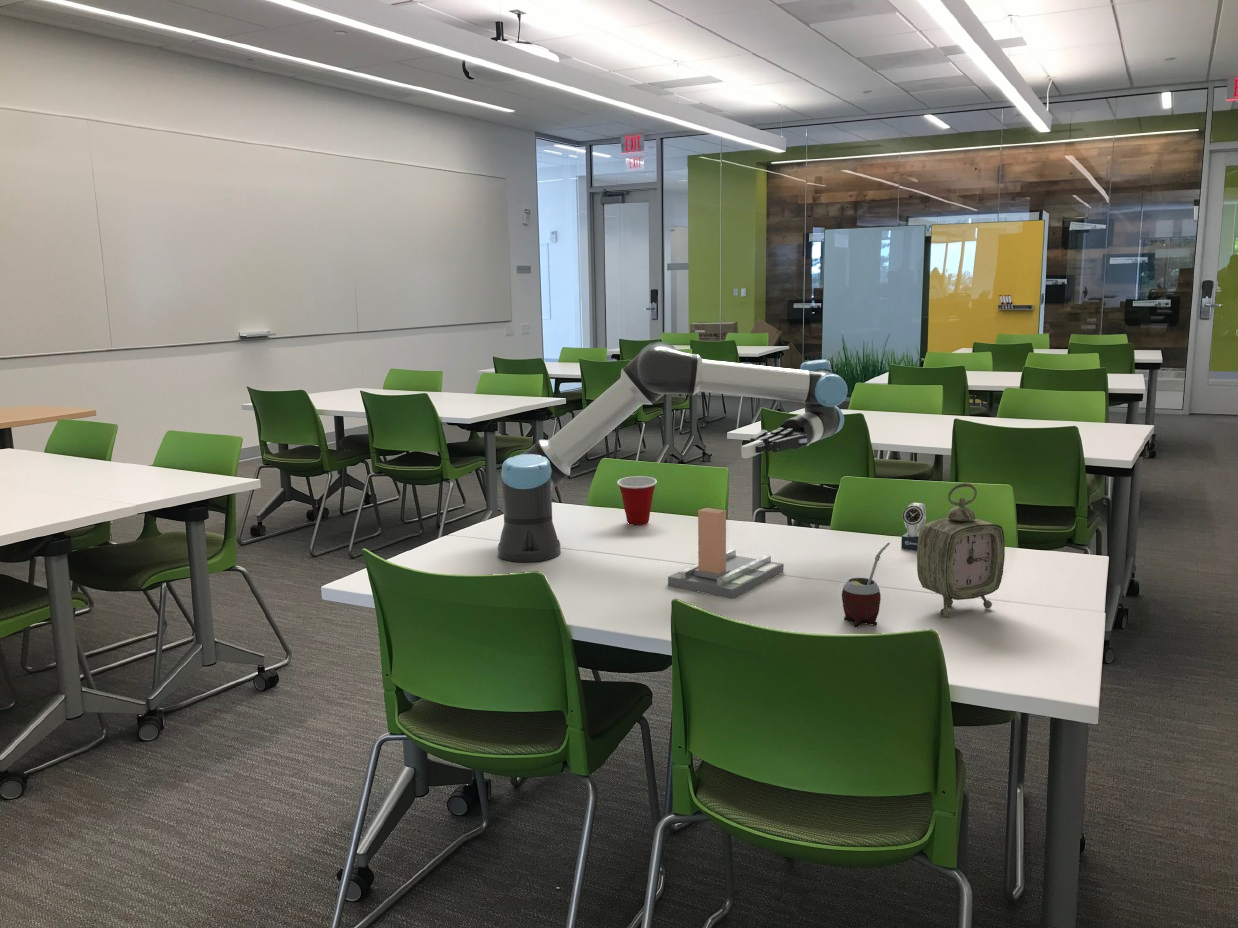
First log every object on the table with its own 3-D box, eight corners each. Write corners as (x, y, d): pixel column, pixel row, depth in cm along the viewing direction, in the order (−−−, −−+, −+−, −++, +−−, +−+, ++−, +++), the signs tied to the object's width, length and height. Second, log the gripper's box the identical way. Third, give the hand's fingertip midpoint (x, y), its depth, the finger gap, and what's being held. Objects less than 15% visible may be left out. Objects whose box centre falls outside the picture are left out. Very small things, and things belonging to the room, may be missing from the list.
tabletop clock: (943, 621, 178) (948, 491, 174) (910, 607, 186) (915, 482, 182) (1001, 609, 184) (1008, 483, 179) (967, 596, 192) (973, 475, 188)
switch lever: (694, 575, 202) (694, 510, 200) (704, 570, 205) (704, 506, 203) (720, 580, 198) (720, 514, 196) (730, 575, 202) (730, 510, 199)
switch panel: (668, 585, 203) (667, 569, 203) (721, 561, 220) (721, 546, 220) (732, 598, 194) (732, 582, 193) (783, 572, 211) (783, 557, 210)
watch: (898, 550, 226) (900, 505, 224) (909, 542, 233) (910, 499, 231) (922, 553, 223) (923, 508, 221) (932, 546, 230) (934, 501, 228)
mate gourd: (836, 624, 178) (837, 547, 175) (849, 612, 184) (851, 537, 182) (875, 631, 174) (878, 552, 171) (888, 618, 180) (890, 542, 178)
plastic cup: (614, 527, 254) (613, 483, 252) (621, 518, 264) (620, 475, 262) (655, 528, 252) (654, 484, 250) (660, 518, 262) (659, 476, 260)
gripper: (824, 449, 227) (768, 472, 211) (778, 443, 236) (721, 464, 219) (823, 418, 225) (768, 439, 209) (777, 413, 234) (720, 433, 217)
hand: (744, 452), depth 214 cm, fingers closed
